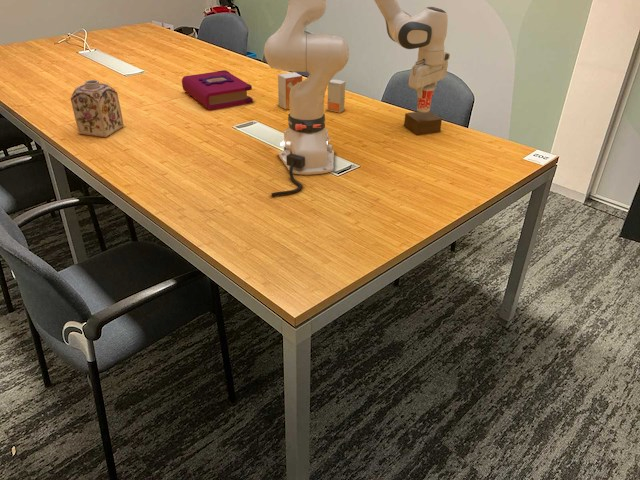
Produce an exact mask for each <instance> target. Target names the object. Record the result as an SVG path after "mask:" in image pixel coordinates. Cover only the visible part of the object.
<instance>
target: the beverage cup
mask: <svg viewBox="0 0 640 480" xmlns="http://www.w3.org/2000/svg"><path fill="white" fill-rule="evenodd" d="M435 89H436V86H433V85H430V84H429V85H426V86H423V89H422V93H424V95H423V98H417V105H416V110H417V112H429V111H430V110H431V105H432V100H433V96H434V93H433V91H434V92H435ZM430 112H431V111H430Z"/></svg>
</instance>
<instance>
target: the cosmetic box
mask: <svg viewBox="0 0 640 480" xmlns="http://www.w3.org/2000/svg"><path fill="white" fill-rule="evenodd" d="M346 82H347V81H346V80H340V79H334V78H332V79H331V80H330V82H329V84H328V86H327V101H326V102H327V104H326V105H327V106H326V111H330V112H334V113H339V114H341V113H342V112H344V110H345V101H346V84H347V83H346Z"/></svg>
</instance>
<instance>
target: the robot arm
mask: <svg viewBox="0 0 640 480" xmlns="http://www.w3.org/2000/svg"><path fill="white" fill-rule="evenodd" d="M287 2H288V3H287V12H286V15H285V18H284V20H283V21H282V24H281V25H280V26H279V28H278V29H277V30H276V31H275V32H274V33H273V34H272V35H270V36H269V37H268V38H267V40H266V42H265V44H264V47H263V55H264V59H265V62H266V63H267V65H268V66H269V68H271V69H273V70H278V71H281V72H296V73H297V72H299V73H308V74H309V75H308V76H307V77H306V78H305V79H303V80H302V81H301V82H299V83H297V84H296V85H294V86H293V87H292V88H291V90H290V93H289V107H290V109H289V113H288V115H287V116H288V117H287V123H288V124H287V125H288V127H287V128H286V129H284V131H283V141H282V142H280V147H281V146H283V150H282V151H279V152H278V157H279V158H280V160H281V162H282V163H283V165H284V166H285V167H286V168H287V170H288V171H289V177H290V180H291V181H292V183H293V184H295V185H296V186H297V187H296V188H294V189H291V190H283V191H275V192H271V193H270V194H271V197H276V196H277V197H278V196H284V195H291V194H295V193H296V194H297V193H298V192H299V191H301V190H302V189H303V184H302V183H300V182H298V181H297V180H296V179H295V177H294V175H301V176H303V175H304V176H305V175H308V176H309V175H322V174H327V173H330V172H333V171H334V166H335V151H334V149H333V144H331V143H330V144H329V142H331V136H329V129H328V128H327V127H326V116H325V113H324V111H325V110H324V109H325V97H326V91H327V89H328V84H329V82H330V80H332V79H334V77H335V76H336V75H337V74H338V73H339V72H340V71H342V70H343V69H344V68H345V67H346V65H347V64H348V61H349V58H350V48H349V45H348V43H347V41H346V40H345V39H344V38H343V37H342V36H338V35H335V34H329V33H307V32H305V30H306V28H307V27H308V26H309V25H310V24H312V23H315V22H316V21H318V20H320V19H321V18H322V17H323V16H324V14H325V13H326V9H327V0H288V1H287ZM374 2H375V4H376V5H377V7H378V9H379V11H380V13H381V14H382V16H383V19H384V21H385V26H386V32H387V35H388V37H389V38H390V40H391V41H393V42H395V43H397V44H398V45H399V46H400V47H402V48H403V49H405V50H414V49H418V52H417V61H415V63H414V65H413V66H412V67H411V69H410V73H409V78H408V83H407V84H408V87H409V88H410V89H413V90H415V91H416V93H417V94H416V98H417V99H418V98H423V95H424V93H422V89H423V86H426V85H429V84H430V85H433V86H435V87H436V86H437V85H438V82H439V81H441V80H443V79H445V78H446V76H447V71H448V66H449V60H450V57H451V54H450V52H446V51H445V40H446V38H447V33H448V23H449V21H448V19H449V18H448V17H449V16H448V13H447V12H446V11H445V10H443V9H442V8H438V7H435V6H427V7H426V8H424V9H423V10H422V11H421V12H419V13H417V14H415V15H413V16H412V15H410V13H407V12H406V11H404V10H403V9H402V8H401V6H400V4H399V2H398V1H397V0H374ZM434 93H435V90H434V91H433V94H434Z"/></svg>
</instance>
